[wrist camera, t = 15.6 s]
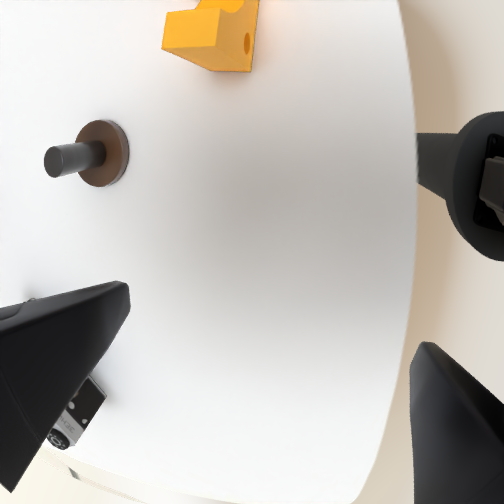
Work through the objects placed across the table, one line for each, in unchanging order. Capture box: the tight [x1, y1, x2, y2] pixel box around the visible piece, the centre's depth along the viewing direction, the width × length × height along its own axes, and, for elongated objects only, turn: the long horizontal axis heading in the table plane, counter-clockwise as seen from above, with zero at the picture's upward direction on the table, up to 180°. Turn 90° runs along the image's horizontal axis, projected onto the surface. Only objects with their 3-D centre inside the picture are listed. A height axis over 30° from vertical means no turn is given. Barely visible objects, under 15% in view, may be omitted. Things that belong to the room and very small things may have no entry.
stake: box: [44, 120, 129, 187], centre depth 19 cm, size 5×5×5 cm
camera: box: [23, 299, 107, 450], centre depth 26 cm, size 15×11×10 cm
